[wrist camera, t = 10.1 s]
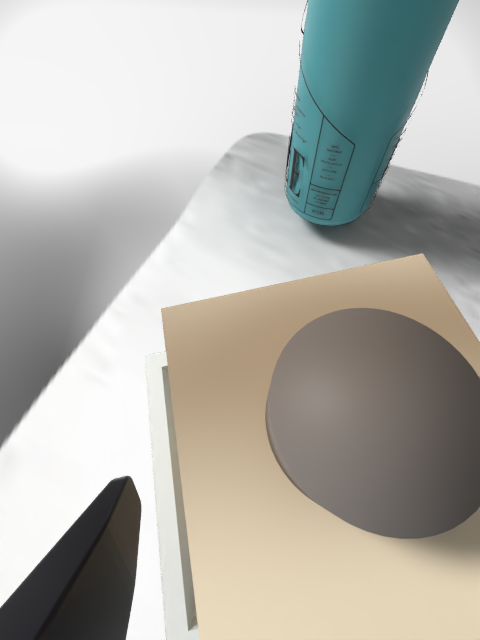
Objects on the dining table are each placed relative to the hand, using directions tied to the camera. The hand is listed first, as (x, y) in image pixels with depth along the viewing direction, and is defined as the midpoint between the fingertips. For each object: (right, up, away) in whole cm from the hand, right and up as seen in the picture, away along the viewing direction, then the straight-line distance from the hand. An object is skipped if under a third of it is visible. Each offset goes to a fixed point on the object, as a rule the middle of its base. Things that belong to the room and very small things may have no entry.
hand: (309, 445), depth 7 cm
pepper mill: (0, -3, +8) cm, 8 cm away
